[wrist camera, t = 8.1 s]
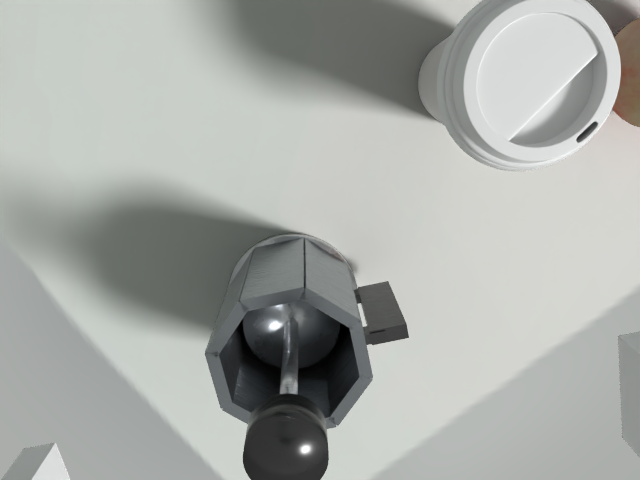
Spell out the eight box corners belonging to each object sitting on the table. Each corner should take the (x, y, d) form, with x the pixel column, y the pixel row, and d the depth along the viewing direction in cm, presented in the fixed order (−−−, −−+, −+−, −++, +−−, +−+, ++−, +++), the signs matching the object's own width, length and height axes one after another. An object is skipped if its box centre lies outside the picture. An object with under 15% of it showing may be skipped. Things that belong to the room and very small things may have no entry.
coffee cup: (424, 165, 44) (483, 206, 30) (377, 47, 42) (417, 29, 27) (540, 114, 43) (659, 130, 29) (499, -10, 41) (607, -59, 27)
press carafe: (213, 248, 45) (183, 305, 34) (373, 214, 45) (397, 260, 34) (245, 365, 48) (227, 454, 37) (395, 334, 48) (425, 414, 36)
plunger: (233, 286, 41) (193, 409, 26) (328, 266, 41) (344, 378, 26) (256, 371, 43) (231, 532, 28) (347, 353, 43) (372, 505, 27)
